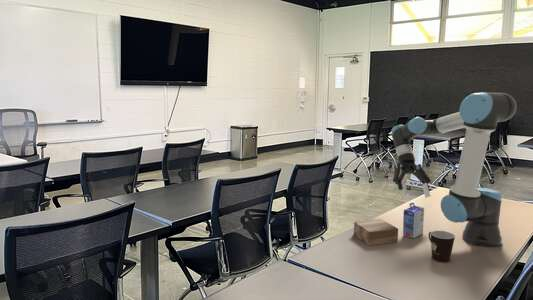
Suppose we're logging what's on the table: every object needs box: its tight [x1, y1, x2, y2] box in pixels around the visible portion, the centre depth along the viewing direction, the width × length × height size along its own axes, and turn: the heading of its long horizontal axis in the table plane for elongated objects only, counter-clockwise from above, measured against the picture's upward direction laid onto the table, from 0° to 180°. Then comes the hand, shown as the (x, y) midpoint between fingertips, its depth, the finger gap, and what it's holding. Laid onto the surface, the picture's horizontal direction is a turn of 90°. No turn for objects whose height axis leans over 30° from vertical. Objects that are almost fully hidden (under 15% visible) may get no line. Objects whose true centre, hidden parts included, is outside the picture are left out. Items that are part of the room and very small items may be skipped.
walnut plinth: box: [353, 218, 399, 246], centre depth 175 cm, size 13×14×6 cm
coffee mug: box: [428, 230, 456, 264], centre depth 155 cm, size 12×9×10 cm
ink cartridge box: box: [402, 202, 425, 239], centre depth 179 cm, size 10×6×14 cm, turn 134°
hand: (416, 196), depth 186 cm, fingers open, 13 cm apart
